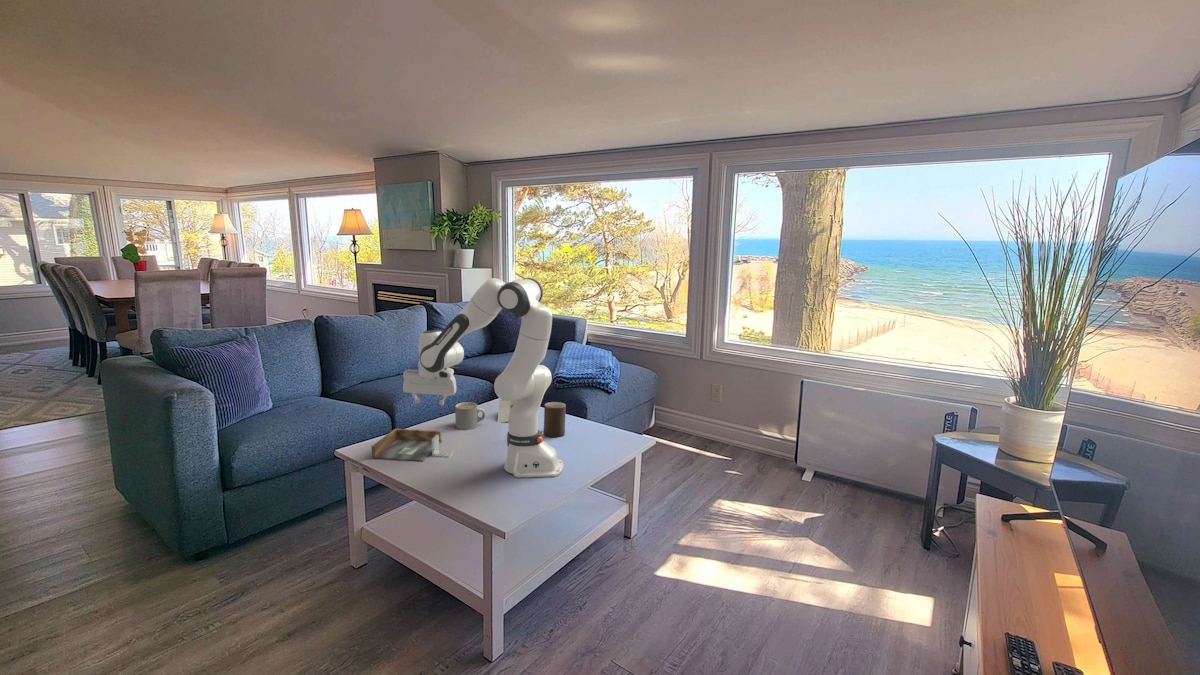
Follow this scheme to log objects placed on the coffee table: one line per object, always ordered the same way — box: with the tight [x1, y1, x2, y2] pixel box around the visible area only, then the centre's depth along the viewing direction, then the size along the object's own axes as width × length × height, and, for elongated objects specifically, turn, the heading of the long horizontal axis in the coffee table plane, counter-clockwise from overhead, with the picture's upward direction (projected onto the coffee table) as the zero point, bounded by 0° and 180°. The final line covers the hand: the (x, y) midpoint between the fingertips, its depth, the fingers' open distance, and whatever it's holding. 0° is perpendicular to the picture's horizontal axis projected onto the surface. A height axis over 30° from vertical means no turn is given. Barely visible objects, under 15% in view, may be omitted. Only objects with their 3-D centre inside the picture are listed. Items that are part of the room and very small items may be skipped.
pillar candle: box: [542, 401, 567, 438], centre depth 226 cm, size 10×10×15 cm
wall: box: [496, 399, 516, 424], centre depth 248 cm, size 16×9×15 cm
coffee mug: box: [454, 401, 486, 431], centre depth 232 cm, size 13×10×10 cm
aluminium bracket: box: [431, 435, 455, 458], centre depth 200 cm, size 7×5×7 cm
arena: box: [371, 428, 443, 462], centre depth 203 cm, size 20×20×5 cm
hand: (429, 404), depth 199 cm, fingers open, 8 cm apart
